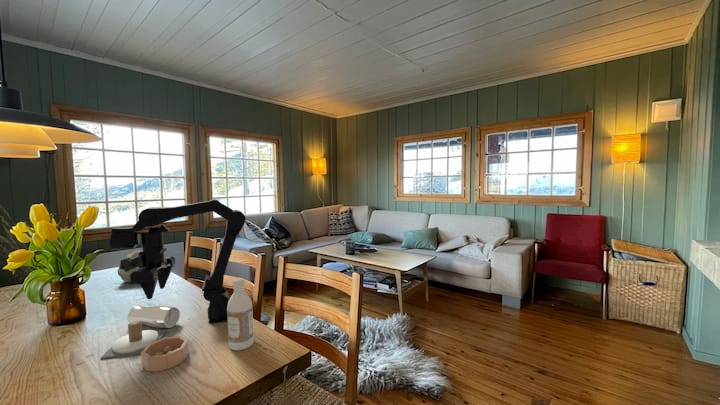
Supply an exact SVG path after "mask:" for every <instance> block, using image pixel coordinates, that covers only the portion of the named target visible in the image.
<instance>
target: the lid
mask: <svg viewBox="0 0 720 405" xmlns="http://www.w3.org/2000/svg"><path fill="white" fill-rule="evenodd" d="M142 326H143V324H141V321H134V322H131V323H129V322H128V324H127V329H128V330H127V331H128V334H124V335H125V336H124V335H123V336H121V337H120V338H118V339H116V340H115V341H114V342H113V343H112V345H111V347H112V350H113V352H114V353H117V354H126V353H132V352H136V351H139V350H142V349H144V348H146V347H147V345H149V344H151V343H153V342H156V341H157V340H158V332H159V331H157V330H153V329H145V330H143V327H142Z"/></svg>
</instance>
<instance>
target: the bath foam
mask: <svg viewBox="0 0 720 405" xmlns="http://www.w3.org/2000/svg"><path fill="white" fill-rule="evenodd" d="M232 286H233V293H232V295H231V296H230V297H229V299H230V300H229V302H228V306H227V319H228V321H227V336H228V347H229V349H230V350H232V351H237V352H238V351H242V350H246V349H248V348H250V347H252V346H253V344H254V341H255V339H254V337H255V336H254V314H253V302H252V298H251V297H250V295H249V294H248V293H247V292H246V291H245V279H244V278H242V277H239V278H234V279H233V285H232Z"/></svg>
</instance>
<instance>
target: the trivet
mask: <svg viewBox="0 0 720 405" xmlns="http://www.w3.org/2000/svg"><path fill="white" fill-rule="evenodd" d="M157 332H158V340H160V339H163V338H164V336H165V335H166V334H167V330H161V331H157ZM125 335H126V334H124V335H123V336H125ZM158 340H157V341H158ZM144 349H145V348H144ZM144 349H142V350H139V351H136V352H132V353H126V354H117V353H114V352H113V350H112V346H111V347H110V348H109V349H108V350H107V351H106V352H105V353H104V354H103V355H102V356H100V360H106V359H113V358H114V359H115V358H121V357H122V358H123V357H129V356H137V355H139V356H140V355H141V352H142V351H143V350H144Z"/></svg>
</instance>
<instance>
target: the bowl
mask: <svg viewBox="0 0 720 405" xmlns="http://www.w3.org/2000/svg"><path fill="white" fill-rule="evenodd" d="M188 353H189V339H187V338H186V337H183V336H181V335H178V336H169V337H162V338H161V339H160V340H158V341H156V342H153V343H151V344H149V345H147V347H146V348H145V349H144V350H143V351H142V352H141V354H140V359H141V360H140V361H141V366H142V367H143V369H144V370H145V371H146V372H147V373H149V372H150V373H158V372H164V371H168V370H170V369H172V368H174V367H177V366H178V365H180V364H181V363H183V362H184V361H185V360H186V359H187V357H188Z"/></svg>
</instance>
